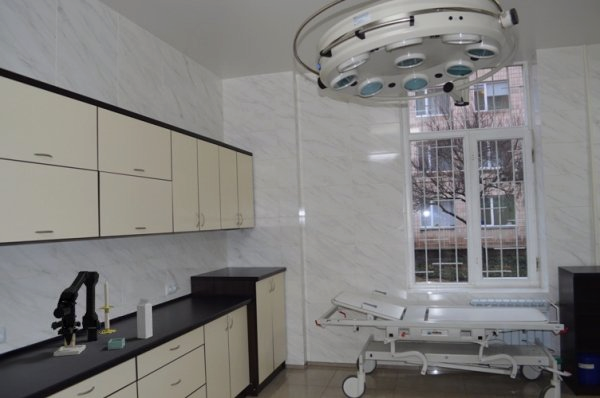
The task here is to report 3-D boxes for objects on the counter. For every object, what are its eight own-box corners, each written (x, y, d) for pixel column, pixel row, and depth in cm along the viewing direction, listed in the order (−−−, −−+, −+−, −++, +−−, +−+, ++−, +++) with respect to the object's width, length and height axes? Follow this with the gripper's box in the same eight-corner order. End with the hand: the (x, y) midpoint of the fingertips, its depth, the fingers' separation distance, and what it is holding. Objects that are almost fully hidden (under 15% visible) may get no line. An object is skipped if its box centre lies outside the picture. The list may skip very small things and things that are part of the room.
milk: (144, 335, 271) (143, 298, 272) (152, 336, 269) (151, 298, 270) (137, 338, 265) (136, 300, 266) (145, 338, 263) (144, 300, 264)
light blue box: (111, 346, 250) (110, 339, 250) (124, 344, 251) (124, 337, 251) (108, 349, 243) (107, 342, 243) (122, 348, 244) (122, 341, 244)
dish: (61, 350, 246) (61, 346, 246) (85, 348, 248) (85, 344, 248) (53, 356, 234) (53, 352, 234) (78, 354, 236) (78, 350, 236)
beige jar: (67, 345, 243) (67, 334, 243) (75, 344, 244) (75, 333, 244) (64, 347, 239) (64, 336, 239) (72, 346, 240) (72, 335, 240)
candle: (119, 330, 287) (118, 278, 288) (107, 334, 277) (105, 280, 279) (107, 329, 290) (106, 278, 292) (94, 333, 281) (93, 280, 283)
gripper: (59, 312, 250) (59, 341, 249) (46, 319, 231) (46, 350, 231) (80, 310, 252) (81, 339, 251) (69, 317, 233) (70, 348, 233)
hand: (70, 344), depth 241 cm, fingers closed on beige jar, 4 cm apart
